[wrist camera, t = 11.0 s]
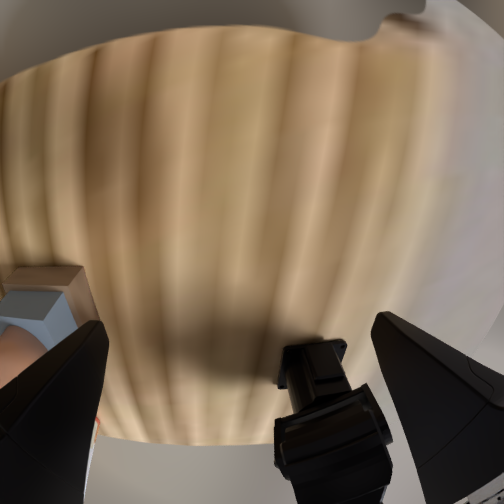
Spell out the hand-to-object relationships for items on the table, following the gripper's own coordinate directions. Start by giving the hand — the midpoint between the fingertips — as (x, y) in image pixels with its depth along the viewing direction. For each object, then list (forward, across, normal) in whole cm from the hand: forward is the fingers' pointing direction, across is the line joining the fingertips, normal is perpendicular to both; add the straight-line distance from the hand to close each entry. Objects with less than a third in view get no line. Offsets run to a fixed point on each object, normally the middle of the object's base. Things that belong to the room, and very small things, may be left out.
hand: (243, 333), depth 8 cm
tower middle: (+9, +16, +8) cm, 20 cm away
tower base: (+12, +16, +8) cm, 22 cm away
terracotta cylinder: (+6, +16, +8) cm, 19 cm away
